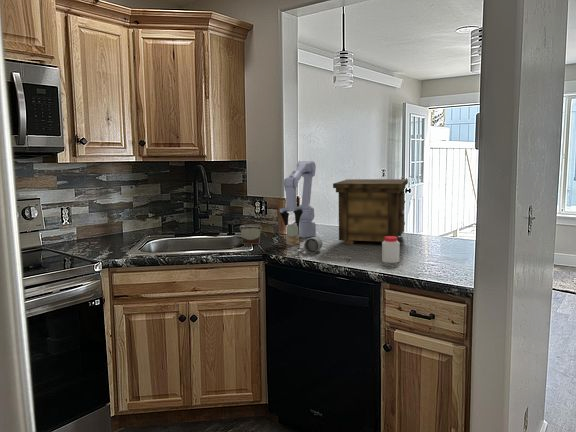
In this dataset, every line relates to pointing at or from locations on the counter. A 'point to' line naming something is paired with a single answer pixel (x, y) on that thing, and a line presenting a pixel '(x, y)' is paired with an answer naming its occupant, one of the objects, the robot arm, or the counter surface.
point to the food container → (250, 233)
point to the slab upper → (292, 238)
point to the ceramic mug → (312, 245)
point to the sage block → (292, 230)
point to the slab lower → (292, 242)
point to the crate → (370, 209)
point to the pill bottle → (390, 249)
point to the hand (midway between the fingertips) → (291, 224)
